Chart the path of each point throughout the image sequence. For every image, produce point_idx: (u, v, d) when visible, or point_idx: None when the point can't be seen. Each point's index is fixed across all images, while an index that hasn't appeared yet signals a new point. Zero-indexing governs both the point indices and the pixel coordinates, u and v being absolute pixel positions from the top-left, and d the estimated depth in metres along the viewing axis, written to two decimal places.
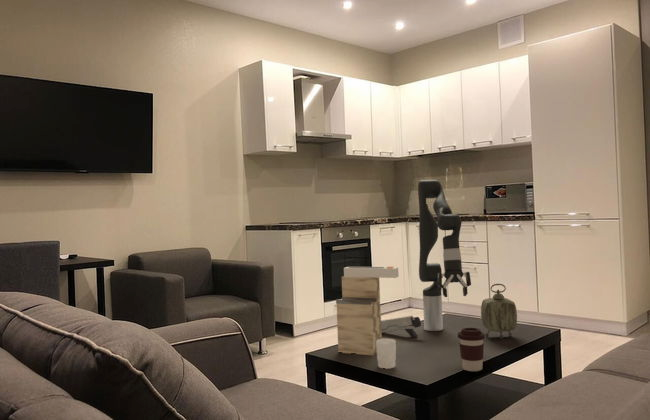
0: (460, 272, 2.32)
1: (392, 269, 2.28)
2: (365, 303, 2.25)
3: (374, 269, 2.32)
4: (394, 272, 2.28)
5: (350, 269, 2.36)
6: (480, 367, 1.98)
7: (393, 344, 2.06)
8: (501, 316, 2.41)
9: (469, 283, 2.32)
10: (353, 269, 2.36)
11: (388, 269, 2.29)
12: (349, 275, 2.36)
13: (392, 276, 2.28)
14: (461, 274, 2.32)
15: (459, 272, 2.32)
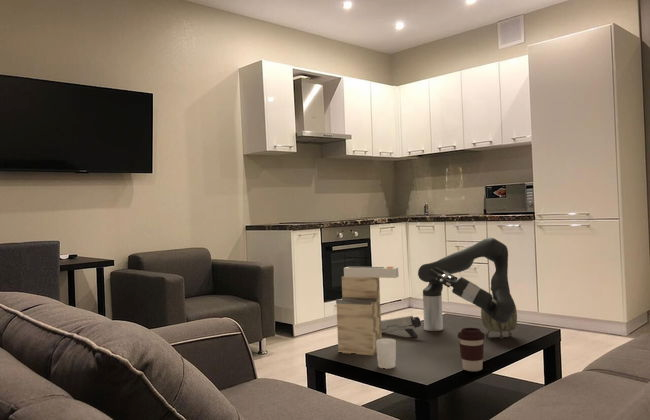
0: None
1: (392, 269, 2.28)
2: (365, 303, 2.25)
3: (374, 269, 2.32)
4: (394, 272, 2.28)
5: (350, 269, 2.36)
6: (480, 367, 1.98)
7: (393, 344, 2.06)
8: None
9: None
10: (353, 269, 2.36)
11: (388, 269, 2.29)
12: (349, 275, 2.36)
13: (392, 276, 2.28)
14: None
15: None
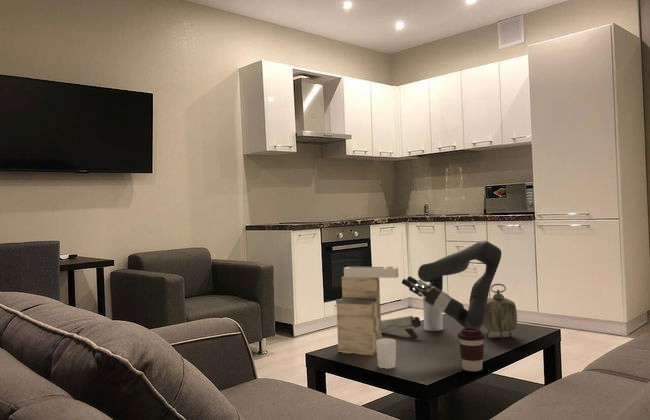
0: None
1: (392, 269, 2.28)
2: (365, 303, 2.25)
3: (374, 269, 2.32)
4: (394, 272, 2.28)
5: (350, 269, 2.36)
6: (480, 367, 1.98)
7: (393, 344, 2.06)
8: (501, 316, 2.41)
9: None
10: (353, 269, 2.36)
11: (388, 269, 2.29)
12: (349, 275, 2.36)
13: (392, 276, 2.28)
14: None
15: None
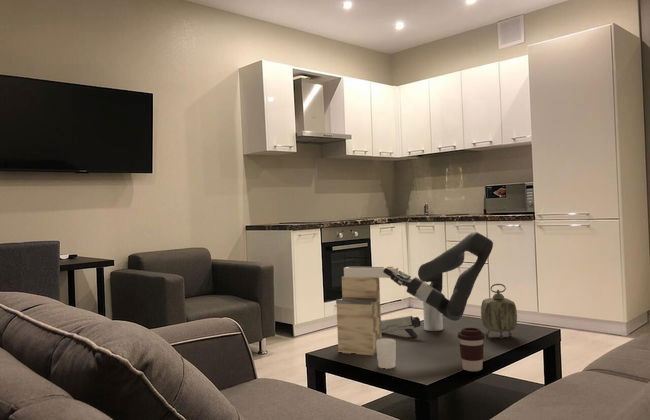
0: None
1: (392, 269, 2.28)
2: (365, 303, 2.25)
3: (374, 269, 2.32)
4: (394, 272, 2.28)
5: (350, 269, 2.36)
6: (480, 367, 1.98)
7: (393, 344, 2.06)
8: (501, 316, 2.41)
9: None
10: (353, 269, 2.36)
11: None
12: (349, 275, 2.36)
13: None
14: None
15: None
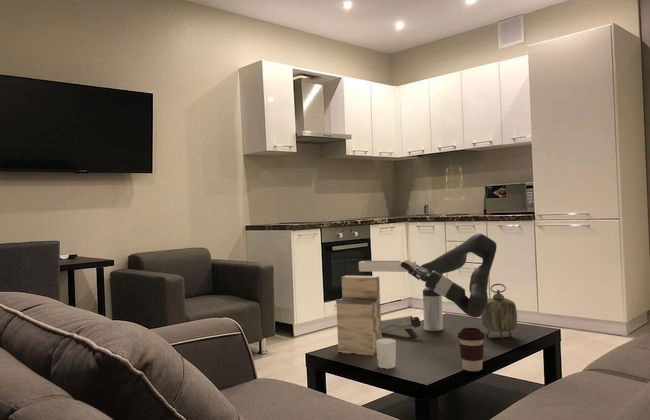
0: None
1: (410, 263, 2.19)
2: (365, 303, 2.25)
3: (391, 263, 2.22)
4: None
5: (365, 263, 2.27)
6: (480, 367, 1.98)
7: (393, 344, 2.06)
8: (501, 316, 2.41)
9: None
10: (368, 263, 2.26)
11: None
12: (364, 269, 2.27)
13: None
14: None
15: None
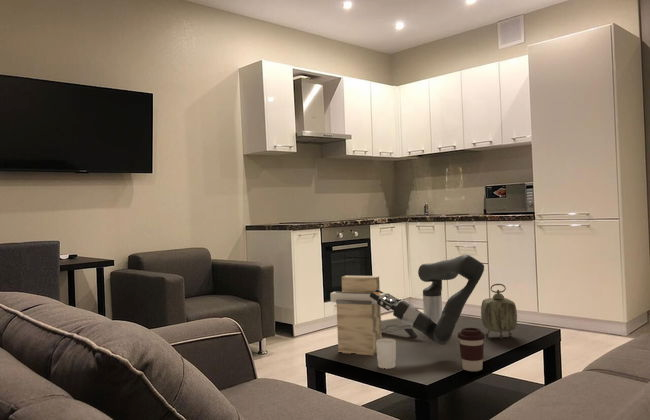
0: None
1: (379, 295, 2.25)
2: (365, 303, 2.25)
3: (361, 295, 2.28)
4: None
5: (337, 294, 2.33)
6: (480, 367, 1.98)
7: (393, 344, 2.06)
8: (501, 316, 2.41)
9: None
10: (340, 294, 2.32)
11: None
12: None
13: None
14: None
15: None
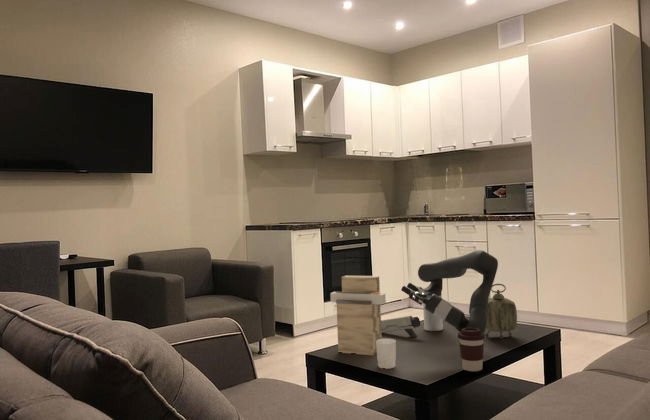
0: None
1: (379, 295, 2.25)
2: (365, 303, 2.25)
3: (361, 295, 2.28)
4: (380, 299, 2.24)
5: (337, 294, 2.33)
6: (480, 367, 1.98)
7: (393, 344, 2.06)
8: (501, 316, 2.41)
9: None
10: (340, 294, 2.32)
11: (375, 295, 2.25)
12: None
13: (379, 302, 2.25)
14: None
15: None
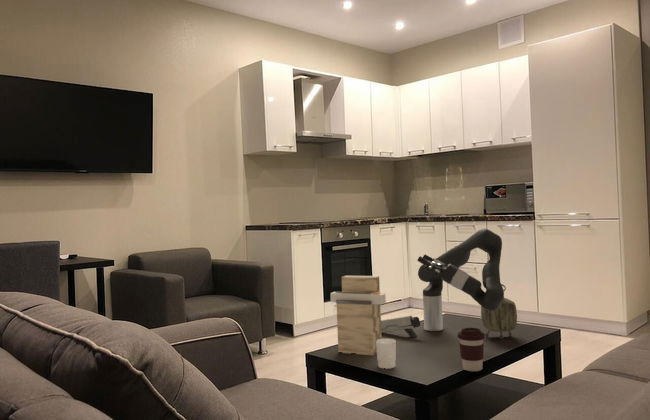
0: None
1: (379, 295, 2.25)
2: (365, 303, 2.25)
3: (361, 295, 2.28)
4: (380, 299, 2.24)
5: (337, 294, 2.33)
6: (480, 367, 1.98)
7: (393, 344, 2.06)
8: (501, 316, 2.41)
9: None
10: (340, 294, 2.32)
11: (375, 295, 2.25)
12: None
13: (379, 302, 2.25)
14: None
15: None
